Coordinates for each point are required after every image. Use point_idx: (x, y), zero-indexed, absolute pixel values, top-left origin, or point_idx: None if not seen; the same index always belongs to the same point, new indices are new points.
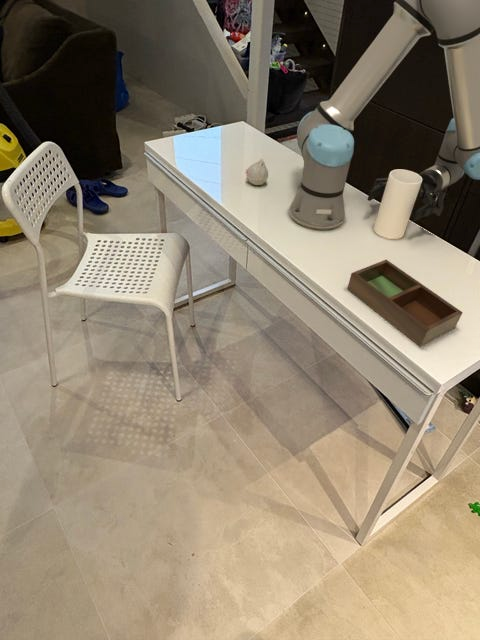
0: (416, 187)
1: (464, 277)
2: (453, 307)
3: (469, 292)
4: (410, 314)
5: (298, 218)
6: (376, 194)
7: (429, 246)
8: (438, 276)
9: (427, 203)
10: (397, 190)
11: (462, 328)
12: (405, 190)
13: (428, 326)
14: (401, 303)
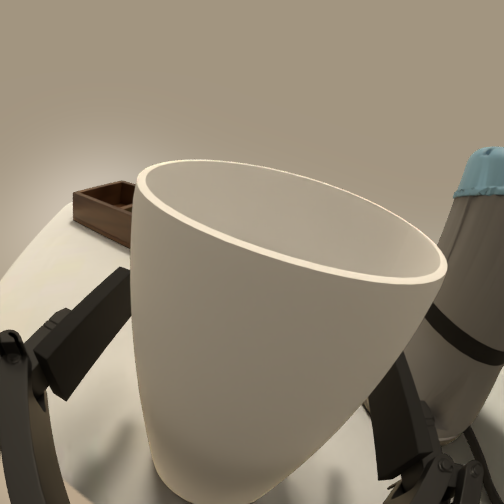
0: (171, 193)
1: (4, 299)
2: (82, 194)
3: (17, 267)
4: None
5: None
6: (381, 405)
7: (52, 406)
8: (58, 291)
9: (50, 352)
10: (270, 224)
11: (63, 221)
12: (229, 206)
13: (120, 182)
14: None
